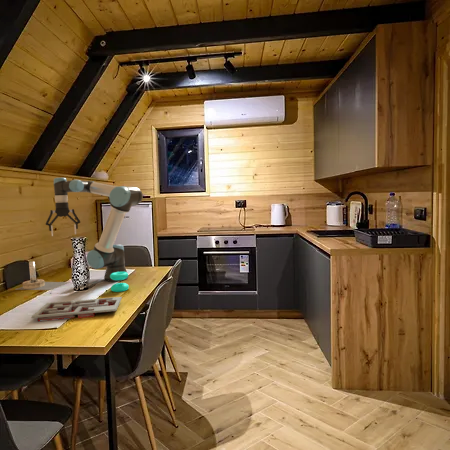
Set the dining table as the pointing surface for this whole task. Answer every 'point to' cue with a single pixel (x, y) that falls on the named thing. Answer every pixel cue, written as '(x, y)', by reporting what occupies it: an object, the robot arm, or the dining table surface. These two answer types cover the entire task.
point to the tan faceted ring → (33, 284)
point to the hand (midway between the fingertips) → (64, 235)
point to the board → (47, 286)
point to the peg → (32, 272)
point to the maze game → (76, 308)
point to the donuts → (119, 286)
